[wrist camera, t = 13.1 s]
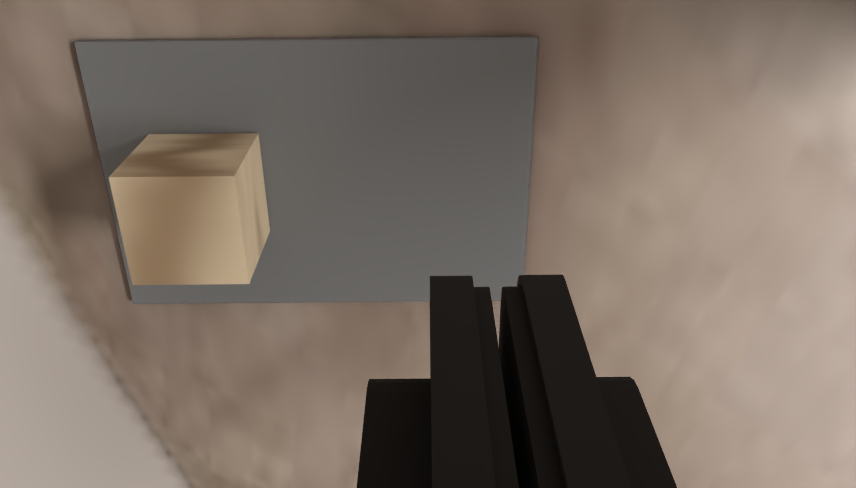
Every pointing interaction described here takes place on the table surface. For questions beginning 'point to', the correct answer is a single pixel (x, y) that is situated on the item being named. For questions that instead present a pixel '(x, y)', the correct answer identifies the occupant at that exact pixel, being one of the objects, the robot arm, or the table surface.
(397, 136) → the mat
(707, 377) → the table surface
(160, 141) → the cube
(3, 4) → the table surface
